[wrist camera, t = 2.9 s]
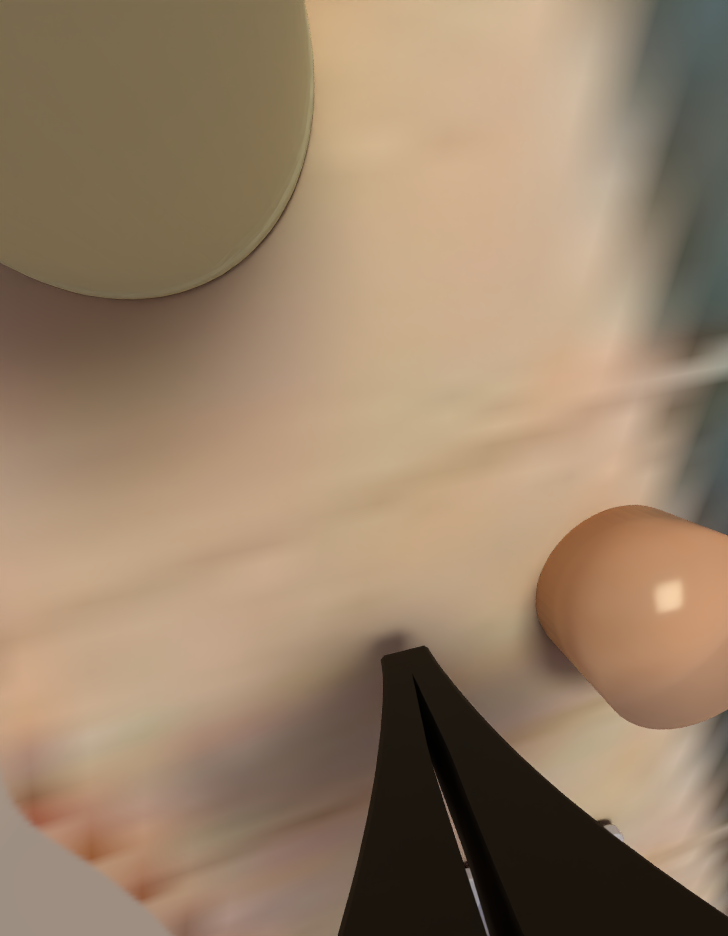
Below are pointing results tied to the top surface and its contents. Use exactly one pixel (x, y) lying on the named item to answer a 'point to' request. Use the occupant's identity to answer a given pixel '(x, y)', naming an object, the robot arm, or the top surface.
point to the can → (148, 137)
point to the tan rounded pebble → (642, 613)
